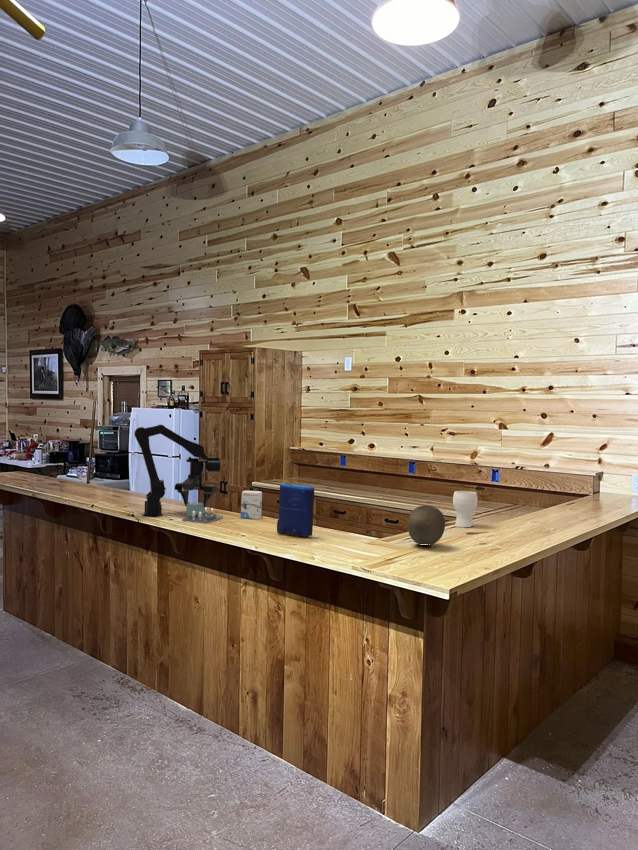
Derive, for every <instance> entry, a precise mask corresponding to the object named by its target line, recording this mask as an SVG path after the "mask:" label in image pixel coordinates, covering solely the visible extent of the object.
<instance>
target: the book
mask: <svg viewBox="0 0 638 850" xmlns="http://www.w3.org/2000/svg"><path fill="white" fill-rule="evenodd" d="M314 504H315V487H314V486H310V485H299V484H293V483H288V482H283V483H280V484H279V501H278V519H277V523H276V533H277V534H281V535H285V536H291V537H300V538H301V537H303V538H304V537H305V538H306V537H307V538H308V537H311V536H312V535H313V530H314V529H313V527H314V526H313V525H314V509H315V508H314V506H315V505H314Z"/></svg>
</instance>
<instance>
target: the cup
mask: <svg viewBox="0 0 638 850" xmlns="http://www.w3.org/2000/svg"><path fill="white" fill-rule="evenodd" d="M478 499H479V498H478V493H477V492H476V491H471V490H470V491H469V490H455V491H454V493H453V496H452V503H453V508H454V510H455V512H456V515H455V516H456V519H455V522H454V523H455V524H454V526H455V527H458V528H463V527H471V526H473V527H474V522H473V519H474V518H473V516H474V513H475V511H476V509H477V506H478ZM471 528H472V527H471Z"/></svg>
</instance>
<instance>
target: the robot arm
mask: <svg viewBox="0 0 638 850" xmlns="http://www.w3.org/2000/svg"><path fill="white" fill-rule="evenodd" d="M133 434H134V437H135V439H136V442H137V443H138V445H139V447H140V449H141V453H142V457H143V460H144V464H145V468H146V470H147V474H148V477H149V486H150V491H149V492H148V493H147V494H146V495H145V497H146V500H145V501H144V511H143V514H142V515H141V516H142V517H143V516H144V517H152V518H154V517H159V516H160V517H161V516H163V513H162V512H163V511H162V510H163V509H162V505H163V504H162V501H161V499H163V498H164V496H165V494H166V490H167V488H166V487H165V481H164V479H160V478H159V476H158V472H157V468H156V465H155V461H154V457H153V454H152V451H151V447H150V446H151V445H150V438H151V437H154V436H157V435H163V436H164V437H166V438H167V439H168V440H170V441H172V442H174V443H175V444H177V445H179V446H181V448H184V450H186V451H187V452H188V453H189V454H190V456H188V457H187V458H186V460H185V462H187V463H190V464H189V474H188V475H187V478H186V479H185V480H184V481H183V482H178V483H175V485H174V490H175V491H177V493H179V494H180V495H181V497H182V501H183V504H184V505H185V507H187V505H188V503H189V494H190V493H189V492H190V491H193V490H195V491H196V490H197V491H202V495H203V502H202V503H203V507H204V508H207V505H208V502H209V501H210V499H211V497H212V495H213V494H215V492H218V486H217V485H216V484H215V485H214V484H207V485H205V483H204V481H203V478H204V477H205V474H204V471H206V473H220V472H221V463H220V462H221V461H220V457H219V456H215V457H213V456H212V457H208V455H207V454H206V453H205V447H204V446H203V445H201V444H199V443H197V442H193V441H191V440H188V439H186V438H185V437H182V436H181V435H180V434H178V433H176V432H174V431H173V430H171V429H169V428H168V427H166V426H165V425H163V424H157V425H155V426H149V427H143V426H141V427H140V426H139V427H137V428H136V429H135V430H134V433H133ZM191 455H192V456H193V457H191ZM194 457H195V458H194ZM199 458H200V460H199Z"/></svg>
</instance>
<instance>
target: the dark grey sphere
mask: <svg viewBox="0 0 638 850" xmlns="http://www.w3.org/2000/svg"><path fill="white" fill-rule="evenodd" d="M445 528H446V520H445V517H444V514H443V513H442V511H441V510H440V509H439V508H437V507H435V506H433V505H427V504H426V505H420V506H417V507H416V508H414V509H413V510H412V511H411V512H410V515H409V518H408V521H407V531H408V534H409V537H410V538H411V540H412V541H413V542H414V543H416V544H417V543H418V544H428V545H429V544H432V545H434V544H436V543H437V542H439V541H440V540H441V538H442V537H443V535H444V533H445V530H446V529H445ZM418 544H417V545H418ZM429 546H430V545H429Z"/></svg>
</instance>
